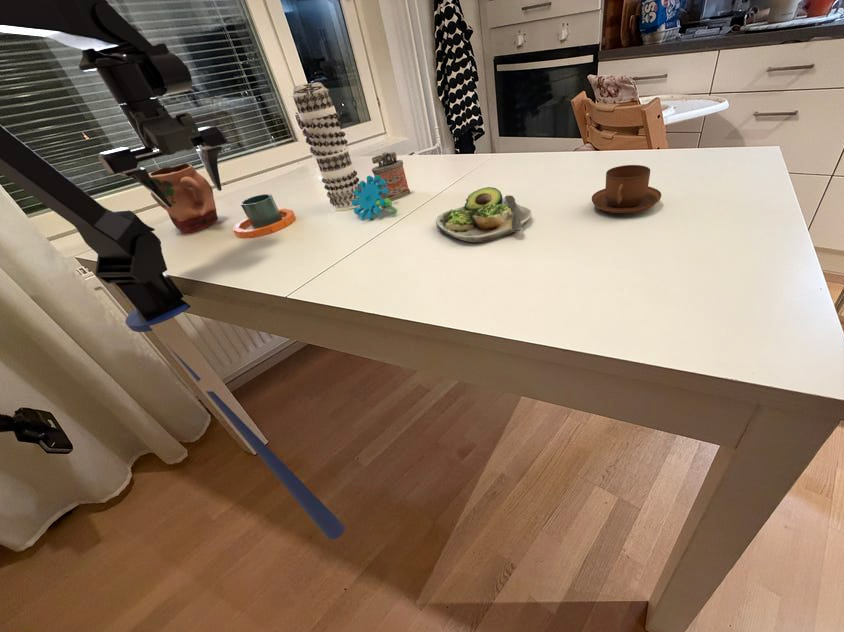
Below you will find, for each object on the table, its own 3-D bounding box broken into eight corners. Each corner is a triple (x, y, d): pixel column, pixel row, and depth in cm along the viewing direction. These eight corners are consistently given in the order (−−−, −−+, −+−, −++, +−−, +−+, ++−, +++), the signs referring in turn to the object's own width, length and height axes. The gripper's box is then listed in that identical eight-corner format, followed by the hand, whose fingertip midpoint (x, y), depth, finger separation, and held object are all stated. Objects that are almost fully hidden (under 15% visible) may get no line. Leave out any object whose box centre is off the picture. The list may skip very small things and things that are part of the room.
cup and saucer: (665, 216, 67) (671, 178, 63) (593, 221, 70) (594, 185, 66) (653, 192, 76) (658, 158, 72) (589, 198, 79) (590, 165, 75)
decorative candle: (348, 212, 93) (303, 86, 78) (323, 210, 98) (276, 90, 82) (374, 198, 99) (338, 78, 83) (349, 197, 103) (310, 82, 87)
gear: (343, 210, 89) (360, 168, 88) (362, 221, 95) (378, 181, 93) (375, 223, 84) (394, 179, 83) (394, 234, 89) (411, 192, 88)
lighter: (406, 191, 100) (395, 147, 94) (413, 193, 98) (402, 149, 92) (378, 201, 97) (365, 157, 91) (385, 203, 95) (372, 158, 88)
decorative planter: (247, 218, 102) (217, 160, 93) (205, 238, 94) (168, 176, 85) (202, 215, 110) (170, 161, 101) (160, 233, 102) (121, 177, 93)
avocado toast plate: (558, 225, 71) (558, 199, 68) (471, 257, 66) (466, 230, 63) (504, 200, 85) (502, 178, 82) (428, 225, 80) (423, 202, 77)
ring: (251, 241, 87) (248, 235, 86) (227, 232, 95) (223, 226, 94) (305, 218, 95) (303, 212, 94) (278, 211, 102) (276, 206, 101)
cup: (261, 232, 91) (248, 206, 88) (248, 227, 95) (235, 202, 91) (288, 221, 95) (276, 195, 91) (275, 217, 99) (263, 192, 95)
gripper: (80, 113, 55) (155, 223, 65) (213, 87, 64) (260, 186, 74) (67, 114, 61) (137, 214, 71) (190, 90, 71) (237, 181, 81)
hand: (195, 198), depth 74 cm, fingers open, 9 cm apart
